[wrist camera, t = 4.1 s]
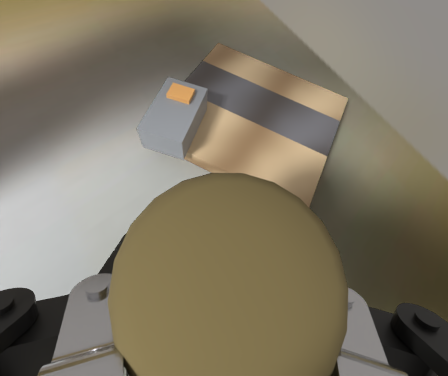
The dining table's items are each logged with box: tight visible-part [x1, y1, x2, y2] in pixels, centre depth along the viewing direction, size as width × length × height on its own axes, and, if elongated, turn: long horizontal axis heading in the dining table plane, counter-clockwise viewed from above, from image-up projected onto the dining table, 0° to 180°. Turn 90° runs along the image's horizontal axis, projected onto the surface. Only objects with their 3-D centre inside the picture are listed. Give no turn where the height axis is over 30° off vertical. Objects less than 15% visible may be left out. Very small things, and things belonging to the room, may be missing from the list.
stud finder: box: [136, 77, 208, 160], centre depth 16 cm, size 3×5×2 cm, turn 163°
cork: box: [108, 173, 348, 376], centre depth 9 cm, size 6×6×11 cm
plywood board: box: [184, 43, 348, 207], centre depth 19 cm, size 13×12×1 cm
